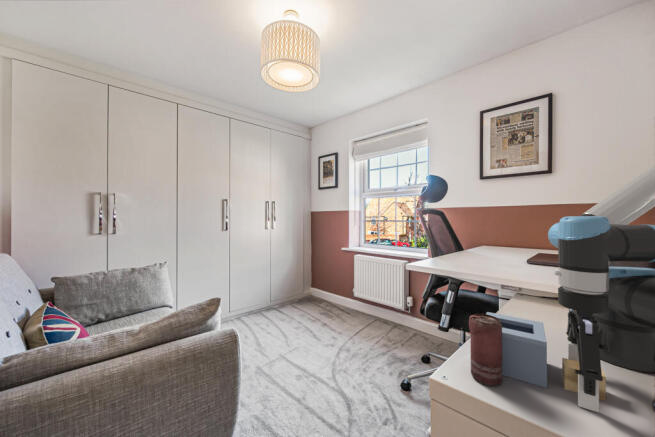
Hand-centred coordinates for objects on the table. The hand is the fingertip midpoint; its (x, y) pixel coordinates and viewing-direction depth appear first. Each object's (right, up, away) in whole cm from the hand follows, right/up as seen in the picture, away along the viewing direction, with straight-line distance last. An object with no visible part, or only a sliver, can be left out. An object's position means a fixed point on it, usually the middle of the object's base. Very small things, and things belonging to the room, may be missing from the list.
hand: (581, 388), depth 54 cm
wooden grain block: (0, 0, 0) cm, 0 cm away
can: (-18, -1, +4) cm, 18 cm away
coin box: (-8, 0, +9) cm, 12 cm away
